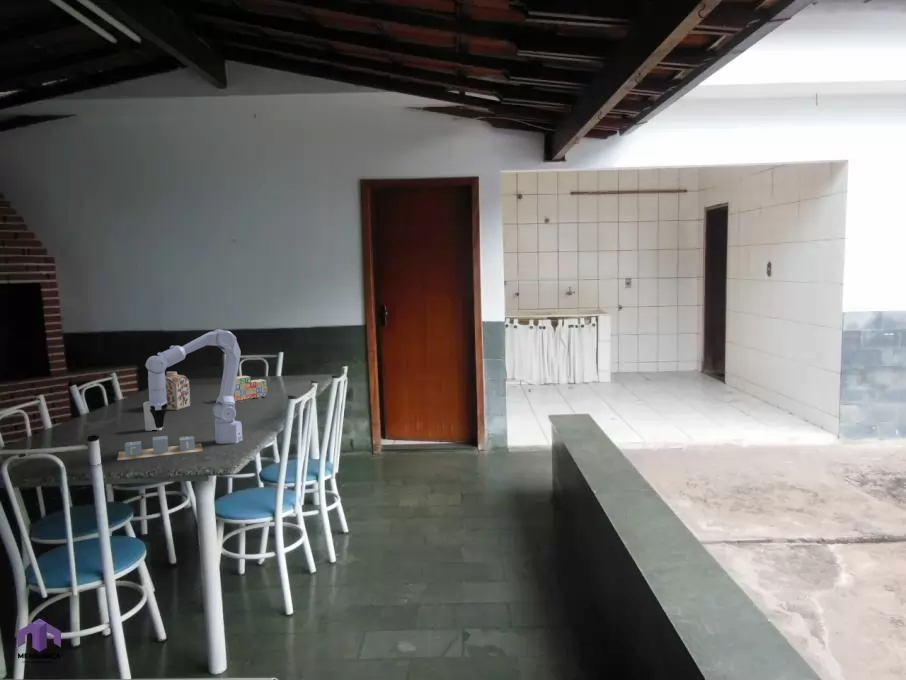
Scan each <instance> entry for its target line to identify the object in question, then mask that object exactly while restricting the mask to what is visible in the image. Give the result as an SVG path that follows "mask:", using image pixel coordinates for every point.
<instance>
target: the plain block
mask: <svg viewBox="0 0 906 680" xmlns="http://www.w3.org/2000/svg"><path fill="white" fill-rule="evenodd" d="M168 447H169V438H168V435H162V436H153V437H152V448H153V454H157V453H166V452H168Z"/></svg>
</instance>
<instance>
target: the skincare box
mask: <svg viewBox="0 0 906 680" xmlns="http://www.w3.org/2000/svg"><path fill="white" fill-rule="evenodd" d="M146 402H149V401H145V402H143V404H142V406H143V416H144V417H143V418H144V427H145V428H144V429H145V432H149V431H151V432H153V431H152V430H157V431H161V430H163V429H162V428H156V426H155V421H154V418H153V415H152V414H151V412H150V409H151V408H150V406H152V405H150V404H146Z"/></svg>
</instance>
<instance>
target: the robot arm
mask: <svg viewBox="0 0 906 680" xmlns="http://www.w3.org/2000/svg"><path fill="white" fill-rule="evenodd" d="M206 346H216V347H218V348H220V350H221V351H222V352H223V353H224V354H225V361H224V367H223V373H222V378H221V382H220V383H221V384H220V391H219V396H218V397H217V398H216V402H215V403H214V406H213V407H212V415H213V416H214V417H215V419H214V431H215V432H214V433H215V435H214V436H215V443H216V444H220V445H223V444H238V443H239V442H241V441H243V426H242V422H241V421H239V420H235V418H236V416H237V410H236V402H235V400H234V392H235V385H236V379H237V377H238V371H239V367H240V366H239V365H240V360H241V356H242V355H241V353H242V352H241V348H240V346H239V343H238V341H237V337H236V335H235V334H233V333H232V331H229V330H223V329H220V328H218V329H217V328H216V329H215V330H213V331H209V332H207V333H205V334H203V335H201V336H199V337H197V338H195V339H193V340H192V341H190V342H187V343H186V344H184V345H183V346H181V345H171V346H169V349H166V350H164V351H162V352H161V351H159V352H157V355H152V356H149V357H148V358H147V359H146V362H145V364H144V366H145V368H146V369H147V375H148V376H147V381H148V383H147V385H148V399H149V402H147V401H145V402H146V404H150V405H152V406H150V408H151V409H150V412H151V414H152V415H153V418H154V421H155V426H156V428H163V429H164V422H165V415H166V413H167V411H168V410H167V408H166V407H167V404H166V403H167V396H166V379H165V375H166V373H165V372H166V369H167V368H169V367H171V366H174V365H175V364H178V363H179V362H181V361H183V360H185V359H186V356H187V355H188V354H190V353H193V352H195V351H197V350H199V349H201V348H203V347H206Z"/></svg>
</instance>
